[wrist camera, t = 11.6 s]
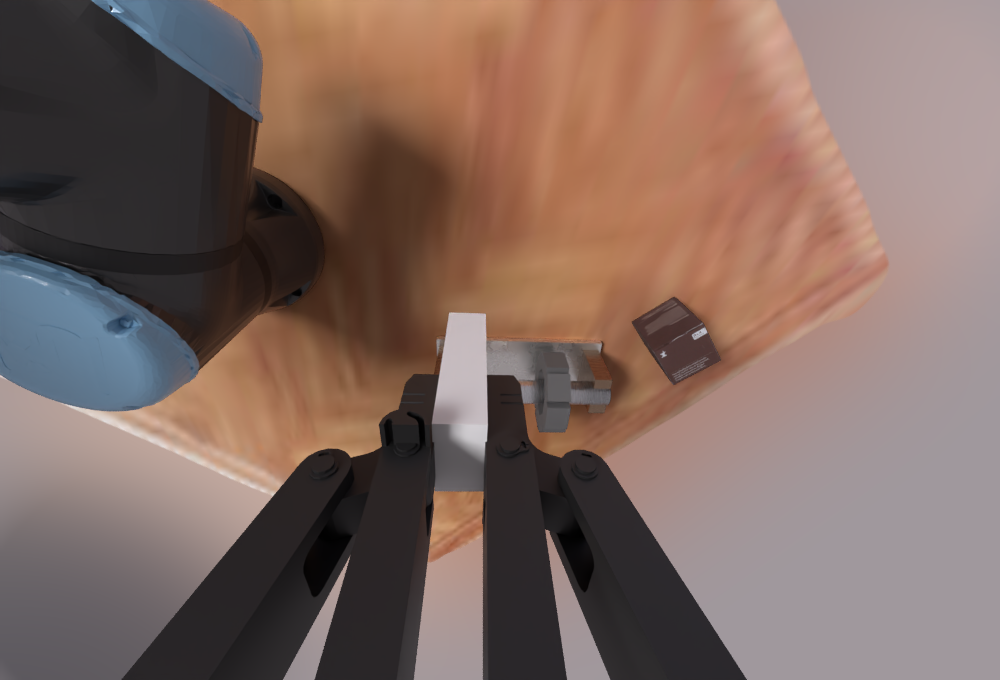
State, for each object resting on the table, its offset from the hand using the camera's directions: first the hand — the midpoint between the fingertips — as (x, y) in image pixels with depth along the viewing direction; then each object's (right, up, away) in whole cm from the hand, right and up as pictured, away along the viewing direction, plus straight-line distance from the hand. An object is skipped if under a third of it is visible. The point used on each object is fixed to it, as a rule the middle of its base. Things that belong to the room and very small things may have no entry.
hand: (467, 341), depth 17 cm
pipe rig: (+4, -3, +35) cm, 35 cm away
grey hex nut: (+7, -4, +34) cm, 35 cm away
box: (+22, +2, +33) cm, 40 cm away
